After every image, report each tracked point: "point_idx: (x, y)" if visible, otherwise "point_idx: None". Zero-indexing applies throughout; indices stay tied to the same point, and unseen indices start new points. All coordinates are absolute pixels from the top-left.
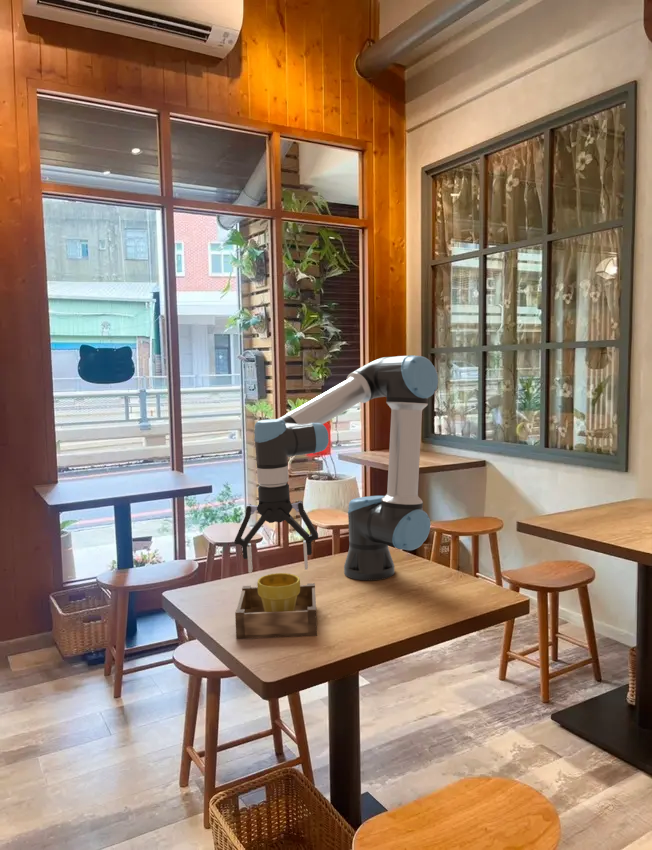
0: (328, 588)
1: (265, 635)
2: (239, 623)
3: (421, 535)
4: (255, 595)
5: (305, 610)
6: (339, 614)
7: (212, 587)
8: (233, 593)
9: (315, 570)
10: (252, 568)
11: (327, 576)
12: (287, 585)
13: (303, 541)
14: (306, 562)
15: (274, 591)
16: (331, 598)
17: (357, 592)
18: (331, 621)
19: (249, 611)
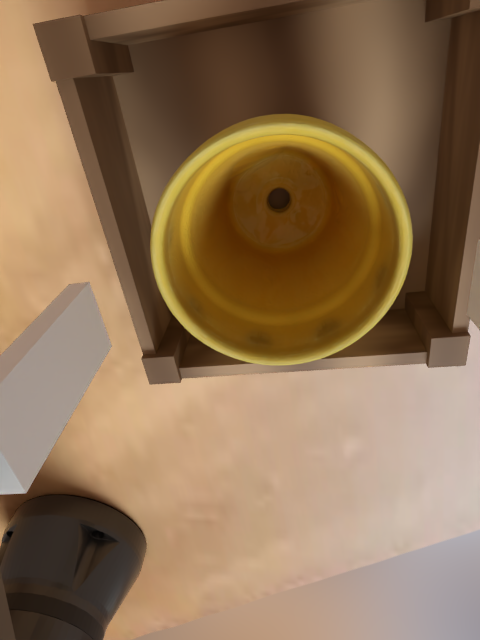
0: (164, 456)
1: None
2: None
3: None
4: (396, 334)
5: (101, 37)
6: (71, 264)
7: None
8: (467, 436)
9: (227, 557)
10: (469, 316)
11: (186, 524)
12: (245, 312)
13: (8, 465)
14: (53, 306)
15: (287, 115)
16: (136, 390)
17: (70, 427)
18: (79, 199)
19: (410, 267)
